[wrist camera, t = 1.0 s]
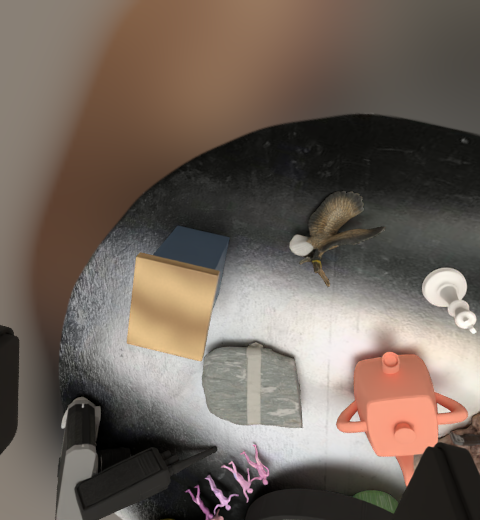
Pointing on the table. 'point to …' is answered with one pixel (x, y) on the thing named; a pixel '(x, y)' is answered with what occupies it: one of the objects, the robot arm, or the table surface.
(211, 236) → the box
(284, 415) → the decorative stone
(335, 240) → the eagle figurine
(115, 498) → the walkie-talkie
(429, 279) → the chess piece
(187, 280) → the board
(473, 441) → the knife
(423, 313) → the table surface
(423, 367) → the teapot
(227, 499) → the people figure
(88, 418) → the camera
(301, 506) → the wall sign
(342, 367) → the table surface
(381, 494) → the ramekin
